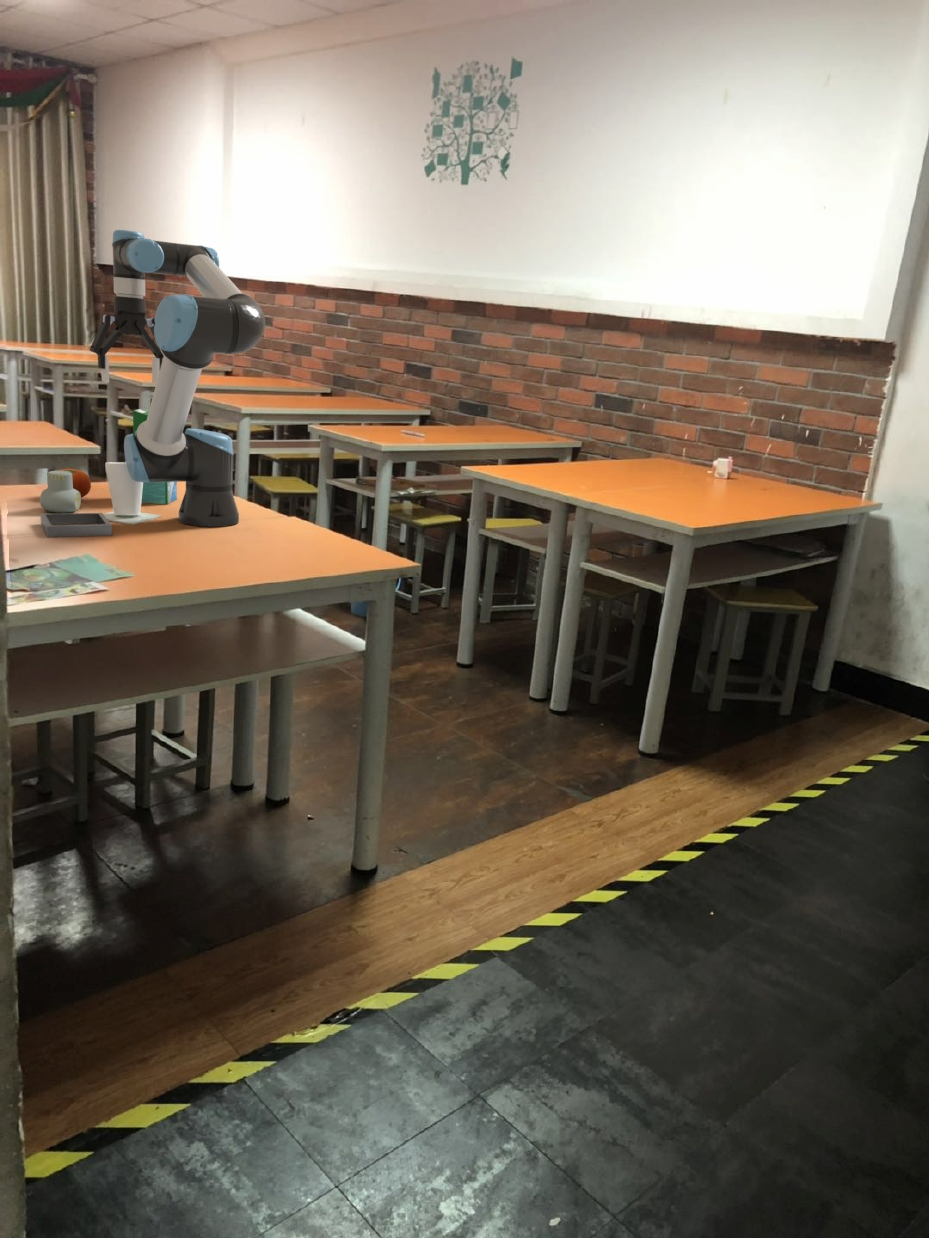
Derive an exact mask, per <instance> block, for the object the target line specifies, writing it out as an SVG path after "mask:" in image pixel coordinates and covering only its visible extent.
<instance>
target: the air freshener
mask: <svg viewBox="0 0 929 1238" xmlns="http://www.w3.org/2000/svg"><path fill="white" fill-rule="evenodd" d="M39 503H40V506H41V508H42V509H44V510H46V511H48V512H50V513H53V514H60V513H74V512H76V511H77V510H79V509H80V506H81V504H82V498H81V494H80V492H79V491H77V490H75V489H73V479H72V473H71V472H68V471H58V470H51V471H48V472H47V487H46V488H45V489H43V490H42V491H41V493H40V497H39Z"/></svg>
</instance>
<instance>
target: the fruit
mask: <svg viewBox="0 0 929 1238" xmlns="http://www.w3.org/2000/svg"><path fill="white" fill-rule="evenodd" d="M57 471H68V472H71V473H72V479H73V489H75V490H77V491H79V492H80V494H81V499H82V498H84V497H86V496H87V495H88V494H89V492H90V491H91V488H92V483H91V479H90V476H89V475H88V474H87V473H86V472H84V471H83V470H80V469H75V468H63V469H57Z"/></svg>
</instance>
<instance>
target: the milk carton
mask: <svg viewBox="0 0 929 1238" xmlns="http://www.w3.org/2000/svg"><path fill="white" fill-rule="evenodd" d="M149 409H150V408H147V407H142V408H139V409H138V408H137V409H134V410H132V429H133V430H132V431H133V432H132V434H133V435H135V434H136V432H137V429H138V427H139V425H140V424H141V423H143V422H145V421H147V417H148V413H149ZM177 484H178V482H152V483H147V482H143V490H142V501H141V504H142V503H145V504H154V505H169V504H170V503H172V502H174V501H176V500H177V498H178V497H177V496H178V495H177V494H178V491H177V490H178V488H177Z"/></svg>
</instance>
